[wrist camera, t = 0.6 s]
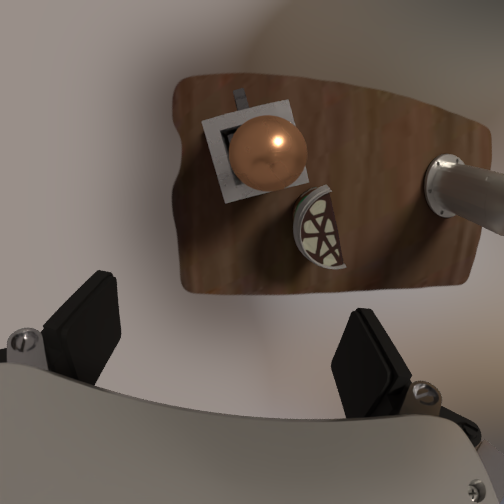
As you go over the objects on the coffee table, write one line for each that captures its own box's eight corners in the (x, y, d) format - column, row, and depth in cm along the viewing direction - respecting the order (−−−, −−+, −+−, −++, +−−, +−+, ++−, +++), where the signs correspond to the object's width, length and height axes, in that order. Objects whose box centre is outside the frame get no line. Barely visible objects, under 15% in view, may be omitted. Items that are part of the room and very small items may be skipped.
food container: (276, 188, 45) (285, 199, 35) (312, 178, 44) (330, 186, 35) (295, 256, 49) (306, 283, 40) (328, 246, 48) (347, 270, 39)
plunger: (270, 124, 31) (304, 95, 13) (280, 165, 33) (327, 190, 14) (227, 135, 32) (205, 118, 13) (238, 176, 33) (232, 214, 15)
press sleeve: (269, 97, 37) (280, 74, 24) (288, 171, 42) (309, 182, 29) (210, 111, 38) (194, 95, 25) (231, 185, 42) (225, 203, 29)
